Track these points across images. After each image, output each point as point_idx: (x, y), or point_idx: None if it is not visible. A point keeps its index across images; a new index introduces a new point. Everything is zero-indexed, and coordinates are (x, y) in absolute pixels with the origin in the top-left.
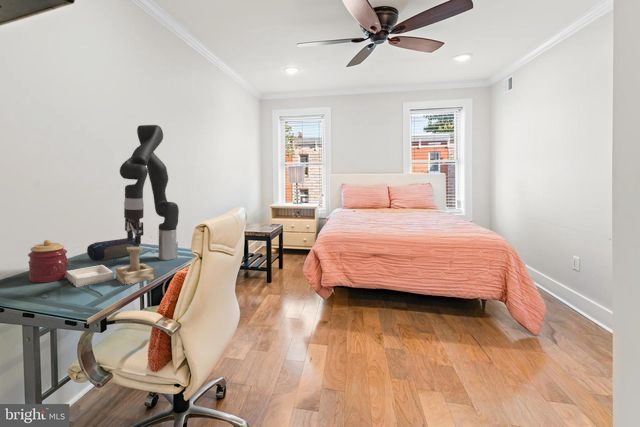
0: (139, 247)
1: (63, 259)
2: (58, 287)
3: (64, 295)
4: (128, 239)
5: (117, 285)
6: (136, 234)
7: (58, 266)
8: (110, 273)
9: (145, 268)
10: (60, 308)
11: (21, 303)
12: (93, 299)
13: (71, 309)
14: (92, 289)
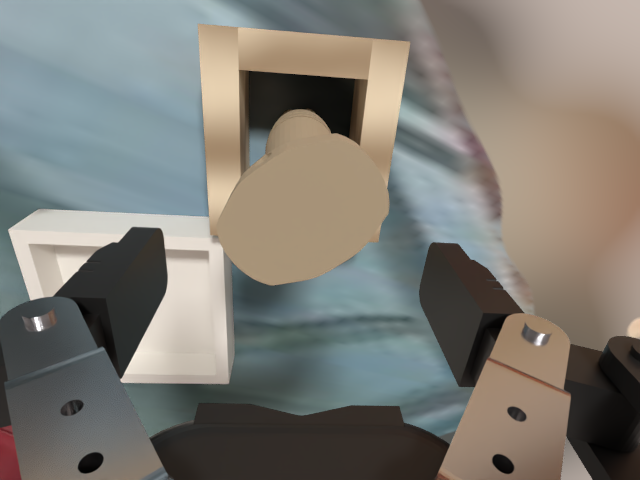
0: (315, 167)
1: (8, 447)
2: (192, 391)
3: (301, 395)
4: (160, 292)
5: None
6: (583, 445)
7: None
8: (224, 252)
9: (335, 76)
10: (411, 421)
11: None
12: (421, 349)
13: (446, 406)
14: (308, 323)
